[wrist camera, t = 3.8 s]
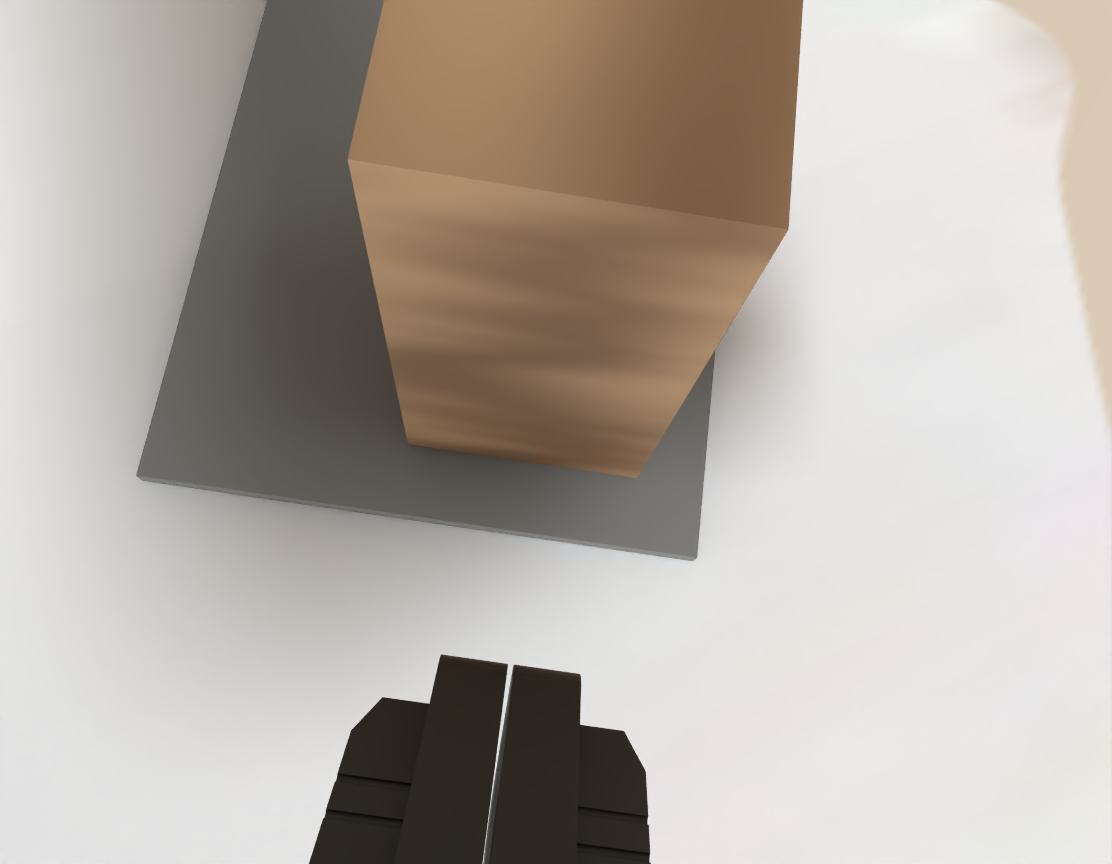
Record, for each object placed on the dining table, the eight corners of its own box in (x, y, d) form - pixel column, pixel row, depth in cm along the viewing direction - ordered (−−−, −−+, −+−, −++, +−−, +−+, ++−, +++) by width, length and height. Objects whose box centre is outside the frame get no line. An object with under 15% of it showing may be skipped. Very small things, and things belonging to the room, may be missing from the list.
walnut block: (408, 446, 21) (347, 158, 11) (446, 244, 23) (424, -177, 12) (635, 480, 22) (788, 230, 11) (657, 277, 23) (810, -111, 13)
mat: (142, 480, 21) (136, 475, 21) (315, -154, 27) (313, -167, 26) (693, 560, 22) (697, 557, 21) (749, -80, 27) (752, -92, 27)
